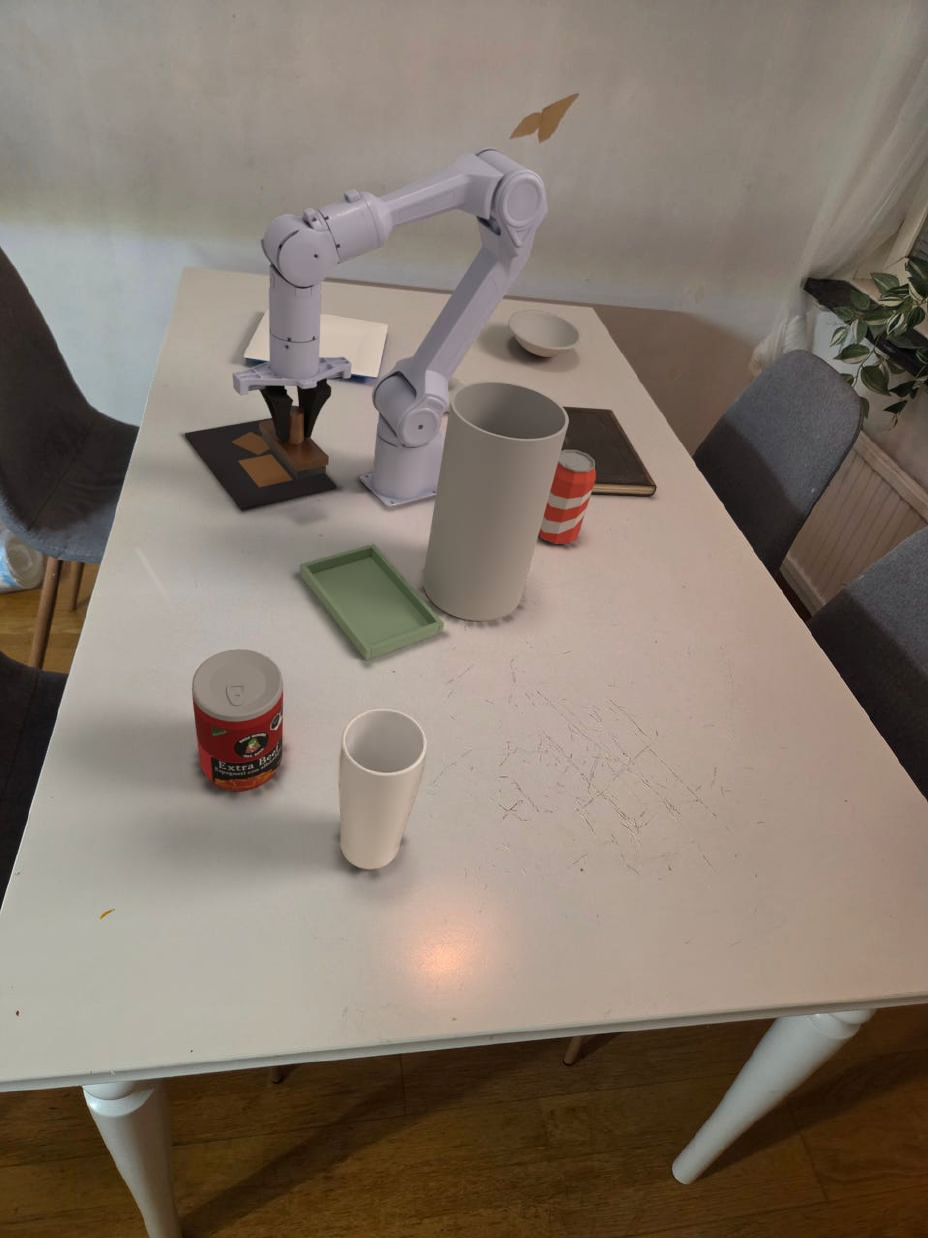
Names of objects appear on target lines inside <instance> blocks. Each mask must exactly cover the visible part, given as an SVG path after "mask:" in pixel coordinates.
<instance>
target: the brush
mask: <svg viewBox="0 0 928 1238" xmlns="http://www.w3.org/2000/svg"><path fill="white" fill-rule="evenodd" d="M304 419H305V411H304V409H303V408H301V407H299V405H294V404H292V406H291V411H290V417H289V439H288V442H285V443H283V442H282V441H281V440H280V439H279V438H278V437H277V436H276V432H275V428H274V423H273V420H268V421H262V422H259V430H260V431H261V432H262V440H263V441H264V442H265V443H266V444H267V445H268V446H269V448H270V449H271V450H272V451H273V452H274V453H275V454H276V455H277V457H278V458H279V459H280V460H281V461H282V462H283V463H284V464H285V466H286V467H287V468H288V469H289V470H290V471H291V472H292V473H293V475H294V476H295V477H296V478H297V479H298V478H302V477H306V476H311V475H315V474H320V473H324V472H325V473H327V466H329V463H330V455H328V454H327V453H326V452H325V451H324V450H323V449H322V447H320V446H319V445H318V444H317V443H316V441H315V440H313V439H312V437H310V438H306V437H305V436H304Z"/></svg>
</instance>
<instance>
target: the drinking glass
mask: <svg viewBox="0 0 928 1238" xmlns="http://www.w3.org/2000/svg"><path fill="white" fill-rule="evenodd" d="M427 741H428V740H427V736H426V733H425V731H424V729H423V727H422V726H421V725H420V724H419V722H418V721H416V720H415V719H414V718H413V717H411V716H410V715H408V714H407V713H404V712H403V711H399V710H396V709H391V708H373V709H369V710H365V711H363V712H361V713H359V714H357V715H355V716H354V717H352V718H351V719H350V720H349V721H348V723H347V724H346V725H345V727H344V729H343V731H342V734H341V739H340V744H339V753H338V761H337V784H338V785H337V787H338V800H339V801H338V802H339V818H340V819H339V821H340V835H339V844H340V850H341V853H342V854H343V856H344V858H345V859H346V860H347V861H348V862H349V863H350V864H352V865H353V866H355V867H357V868H359V869H363V870H378V869H381V868H384V867H385V866H387V865H389V864H390V863H391V862H392V861H393V860H394V859H395V858H396V856H397V855H398V853H399V852H400V851H399V850H400V847H401V844H402V843H401V842H402V839H403V834H404V832H405V829H406V826H407V824H408V821H409V817H410V814H411V811H412V809H413V806H414V803H415V800H416V797H417V795H418V792H419V788H420V787H421V786H420V785H421V782H422V780H423V779H422V778H423V774H424V769H425V763H426V757H427V749H428V742H427Z"/></svg>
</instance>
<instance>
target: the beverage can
mask: <svg viewBox="0 0 928 1238" xmlns="http://www.w3.org/2000/svg"><path fill="white" fill-rule="evenodd" d="M595 479H596V471H595V461H594V460H593V459H592V458H591V457H590V456H589V455H588V454H586V453H583V452H580V451H577V450H563V451H561V453H560V457H559V460H558V464H557V468H556V471H555V475H554V479H553V483H552V486H551V490H550V494H549V497H548V501H547V505H546V509H545V512H544V516H543V520H542V523H541V527H540V531H539V534H538V536H539V537H540V538H541V539H543V540H544V541H547V542H549V543H550V544H554V545H557V544H558V545H565V544H571V543H572V542H574V541H575V540H577V539H578V536H579V534H580V531H581V528H582V524H583V521H584V517H585V515H586V511H587V509H588V506H589V501H590V498H591V495H592V494H591V492H592V489H593V486H594V483H595Z"/></svg>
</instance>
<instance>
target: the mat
mask: <svg viewBox="0 0 928 1238" xmlns="http://www.w3.org/2000/svg"><path fill="white" fill-rule="evenodd" d="M268 420H272V417H269V418H264V419H263V418H262V419H257V420H252V421H245V422H241V423H235V424H234V423H233V424H229V425H223V426H222V425H221V426H217V427H211V428H206V429H199V430H195V431H188V432H184V437H185V438H186V439H187V441H188V442H189V443H190V445H191V446H192V447H193V449H194V450H195V451H196V453H197V455H199V456H200V458H201V460H203V462H204V463H205V465H206V466H207V467H208V468H209V470H210V471H211V472H212V474H213V475H214V477H215V478H216V479H217V480H218V482H219V483H220V484H221V486H222V487H223V489H225V491H226V492H227V494H228V495H229V496H230V497H231V499H232V500H233V502H234V503H235V504H236V505H237V507H238V508H239V510H240V511H241V512H243V511H247V510H252V509H256V508H260V507H265V506H269V505H273V504H277V503H282V502H286V501H291V500H294V499H299V498H303V497H307V496H313V495H316V494H320V493H324V492H329V491H332V490H337V489H338V485H337V484H336V483H335V482H334V481H333V480H332V479H331V477H329V476H328V474H327V472H324V473H320V474H315V475H311V476H306V477H302V478H298V479H297V478H296V477H295V476H294V475H293V473H292V472H291V471H290V470H289V469H288V468H287V467H286V466H285V464H284V463H283V462H282V461H281V460H280V459H279V458H278V457H277V455H276V454H275V453H274V452H273V451H272V450H271V449H270V448H269V446H268V445H267V444H266V443H265V442H264V441H263V440H262V432H261V431H260V430H259V422H262V421H268Z"/></svg>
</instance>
